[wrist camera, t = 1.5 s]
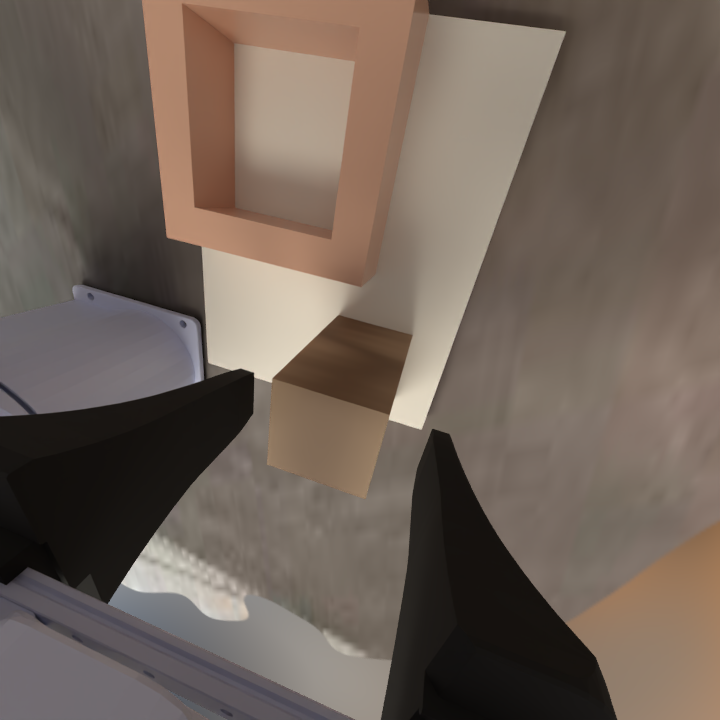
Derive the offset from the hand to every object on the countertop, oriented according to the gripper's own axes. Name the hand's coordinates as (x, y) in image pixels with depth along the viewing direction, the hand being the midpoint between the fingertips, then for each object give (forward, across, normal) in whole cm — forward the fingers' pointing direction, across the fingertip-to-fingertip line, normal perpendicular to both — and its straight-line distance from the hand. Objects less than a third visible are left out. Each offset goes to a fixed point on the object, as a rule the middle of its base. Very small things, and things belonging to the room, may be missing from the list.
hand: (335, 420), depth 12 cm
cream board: (+7, +3, -5) cm, 9 cm away
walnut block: (+6, 0, 0) cm, 6 cm away
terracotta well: (+6, +5, -9) cm, 12 cm away
